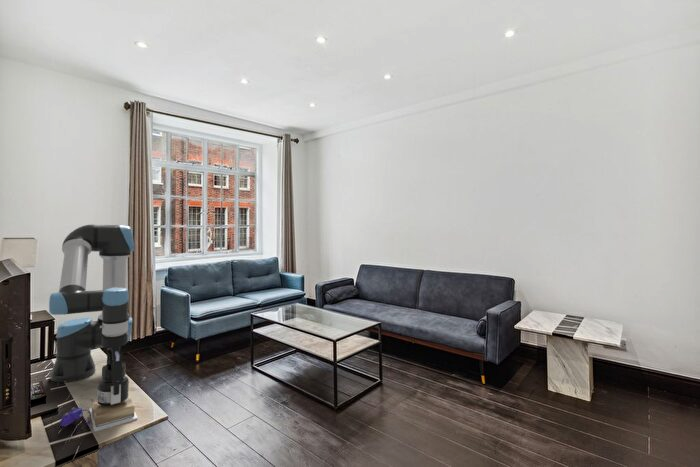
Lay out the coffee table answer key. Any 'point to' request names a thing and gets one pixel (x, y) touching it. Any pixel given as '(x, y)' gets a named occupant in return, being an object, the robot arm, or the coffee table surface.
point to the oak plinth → (112, 411)
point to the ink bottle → (104, 388)
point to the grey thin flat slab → (112, 423)
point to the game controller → (72, 417)
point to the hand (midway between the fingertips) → (113, 397)
